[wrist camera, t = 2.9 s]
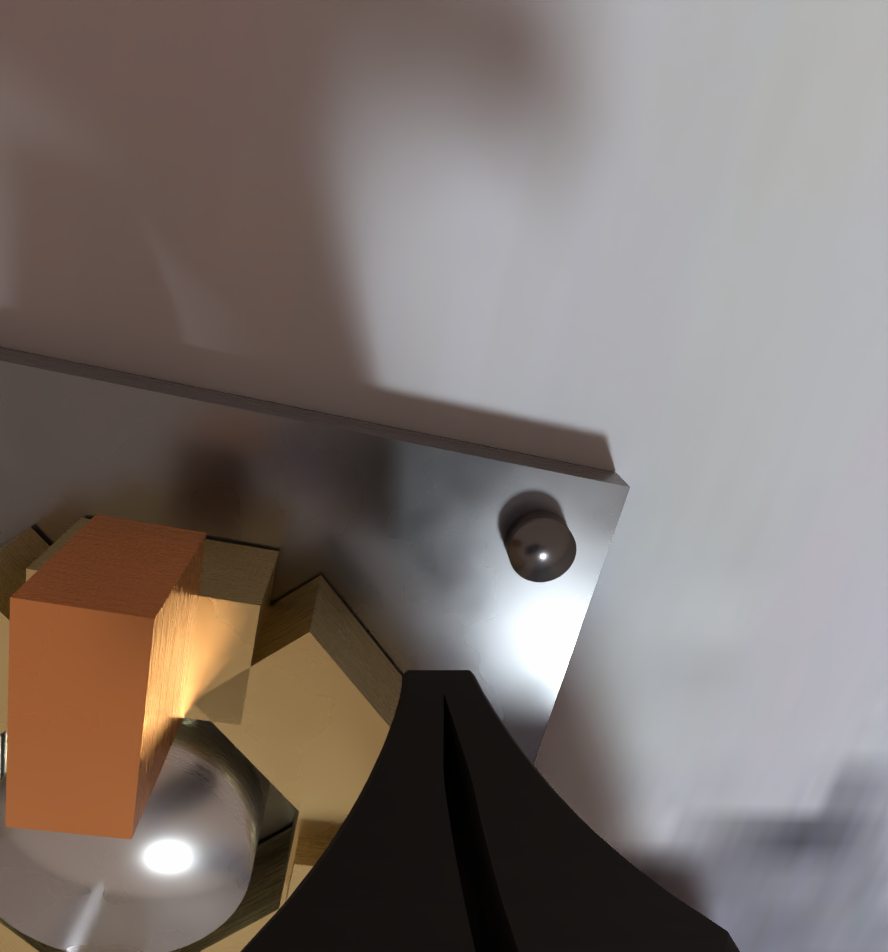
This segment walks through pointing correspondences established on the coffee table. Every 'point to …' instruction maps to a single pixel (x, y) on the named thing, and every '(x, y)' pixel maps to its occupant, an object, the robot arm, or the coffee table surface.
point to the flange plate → (299, 561)
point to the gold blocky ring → (180, 691)
